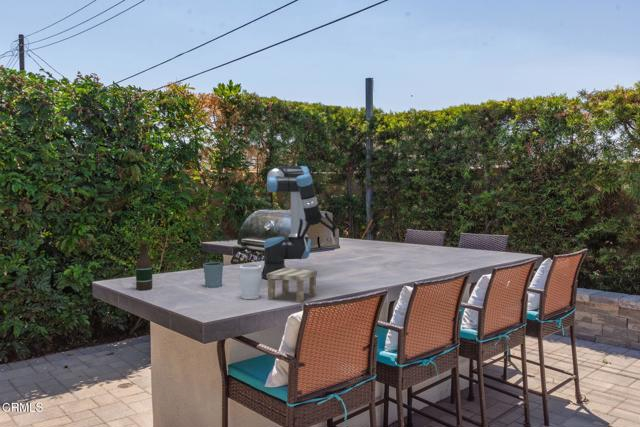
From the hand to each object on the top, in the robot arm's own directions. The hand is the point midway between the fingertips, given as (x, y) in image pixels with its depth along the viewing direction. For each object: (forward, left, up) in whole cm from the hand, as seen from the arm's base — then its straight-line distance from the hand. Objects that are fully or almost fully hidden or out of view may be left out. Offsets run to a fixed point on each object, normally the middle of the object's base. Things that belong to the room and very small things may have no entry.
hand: (320, 247), depth 240 cm
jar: (-26, -24, -23) cm, 42 cm away
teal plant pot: (-58, -8, -23) cm, 63 cm away
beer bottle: (-86, -28, -23) cm, 93 cm away
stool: (-8, -16, -23) cm, 29 cm away
